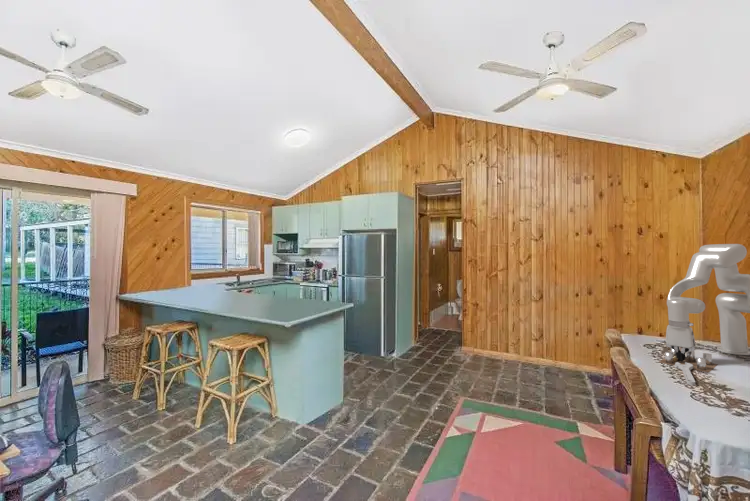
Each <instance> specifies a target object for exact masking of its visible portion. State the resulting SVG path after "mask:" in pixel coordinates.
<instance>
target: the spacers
mask: <svg viewBox="0 0 750 501" xmlns="http://www.w3.org/2000/svg"><path fill="white" fill-rule="evenodd" d="M673 355H674V356H676V352H675V350H673V349H672V348H670V351H664V357H665V362H666V363H670V364H673V363H674V361H673ZM695 355H696V353H695V351H687V352H686V353H685V357H686V358H687V361H689V362H695V360H697V369H699V370H706V365H712V363H713V356H712V353H708V352H703V353H702V357H696V356H695ZM670 364H669V365H670ZM699 370H698V371H699Z"/></svg>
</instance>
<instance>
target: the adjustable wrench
mask: <svg viewBox="0 0 750 501" xmlns="http://www.w3.org/2000/svg"><path fill="white" fill-rule="evenodd" d="M674 368H675V369H678V370H681V371H682V373H683V375H684V380H685V381H686V384H687V385H690V386H696V380H695V378H694V376H693V374H692V372H691V370H694V369H693V365H692V364H690V363H687V362H685V365H681V364H680V363H679V362H676V363H675V366H674Z"/></svg>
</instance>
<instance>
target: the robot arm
mask: <svg viewBox="0 0 750 501" xmlns="http://www.w3.org/2000/svg"><path fill="white" fill-rule="evenodd" d="M747 254H748V251H747V248H746V247H745V245H743V244H740V243H718V244H716V243H715V244H704V245H701V246H700V247H699V249H698V252H696V253H694V254H693V255H692V257H691V259H690V262H689V265H688V268H687V272H686V275H685V277H684V278H683V279H681V280H679V281H678V282H676V283H675V284H674V285H673V286H672V287H671V288H670V289H669V292H668V295H667V298H666V306H667V316H668V317H667V318H668V319H667V320H668V325H667V326H666V331H665V343H666V344H665V346H666V347H668V348H670V349H671V348H672V349H673V350H675V352H676V357H677V358H678V361H684V360H685V358H686V352H687V351H694V352H695V351H696V348H695V347H696V340H695V339H696V338H695V333H694V330H693V328H692V327H694V323H692V322H691V321H690V314H700V313H703V312H704V311H705V309H706V304H705V302H704V301H703V300H701V299H698V298H692V297H685V296H682V295H683V294H684V293H685V292H686V291H688V290H691V289H692V288H697V287H699V286H700V287H701V286H704V285H706V284H708V283H709V281H710V278H711V277H710V276H711V273H712V271H713V270H714V274H715V281H716V284H717V288H718V289H719V290H720V291H725V292H723V293H719V294H718V295H717V296H716V297H715V304H716V307H717V310H718V317H719V319H718V320H719V333H720V334H719V335H720V345H719V346H717V347H716V349H717V350H718V351H719V352H722V353H725V354H729V355H737V356H750V349H749V347H748V332H747V330H748V329H747V320H746V317H745V316H744V315H743V314H742V313H744V314H745V313H746V314H750V274H748V273H740V272H739V267H738V264H737V263H740V262H741V261H743V260H744V259H745V258H746V257H747ZM732 292H733V293H732ZM735 292H736V293H735ZM743 293H745V294H743ZM680 348H681V350H680Z"/></svg>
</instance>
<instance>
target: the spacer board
mask: <svg viewBox="0 0 750 501" xmlns="http://www.w3.org/2000/svg"><path fill="white" fill-rule="evenodd" d="M677 362H679V363H680V364H681V365H685V362H687V363H690V364H692V365H693V369H692V370H694V371H699V372H705V373H710V372H711V371H712V370H714V369H715V368H716V367H717V366H719V363H713V362H712V365H706V370H699V369H697V360H696V359H695V362H689V361H687V357H685V360H684V361H677ZM658 363H661V364H665V365H670V366H674V367H675V363H676V362H674V363H673V364H670V363H666V362H665V358H662V359H661V360H659V361H658Z"/></svg>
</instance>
